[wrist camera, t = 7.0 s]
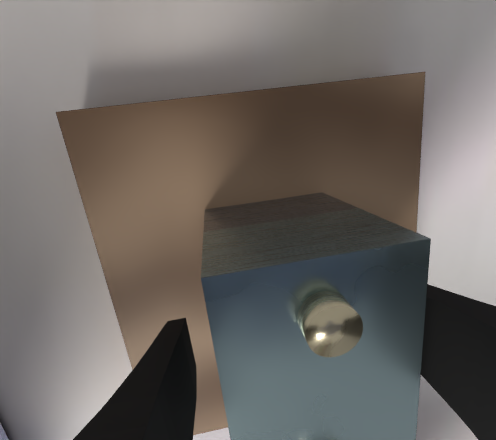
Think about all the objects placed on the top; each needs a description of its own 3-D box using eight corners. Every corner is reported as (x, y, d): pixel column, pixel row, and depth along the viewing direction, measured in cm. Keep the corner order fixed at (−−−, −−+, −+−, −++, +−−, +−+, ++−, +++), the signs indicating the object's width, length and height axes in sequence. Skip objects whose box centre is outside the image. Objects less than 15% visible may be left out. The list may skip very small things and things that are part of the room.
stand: (385, 359, 17) (407, 385, 15) (161, 408, 16) (154, 444, 14) (393, 82, 13) (425, 71, 11) (81, 117, 11) (55, 112, 10)
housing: (321, 192, 12) (453, 248, 5) (328, 346, 14) (427, 513, 8) (204, 209, 11) (199, 293, 5) (231, 366, 13) (250, 562, 7)
